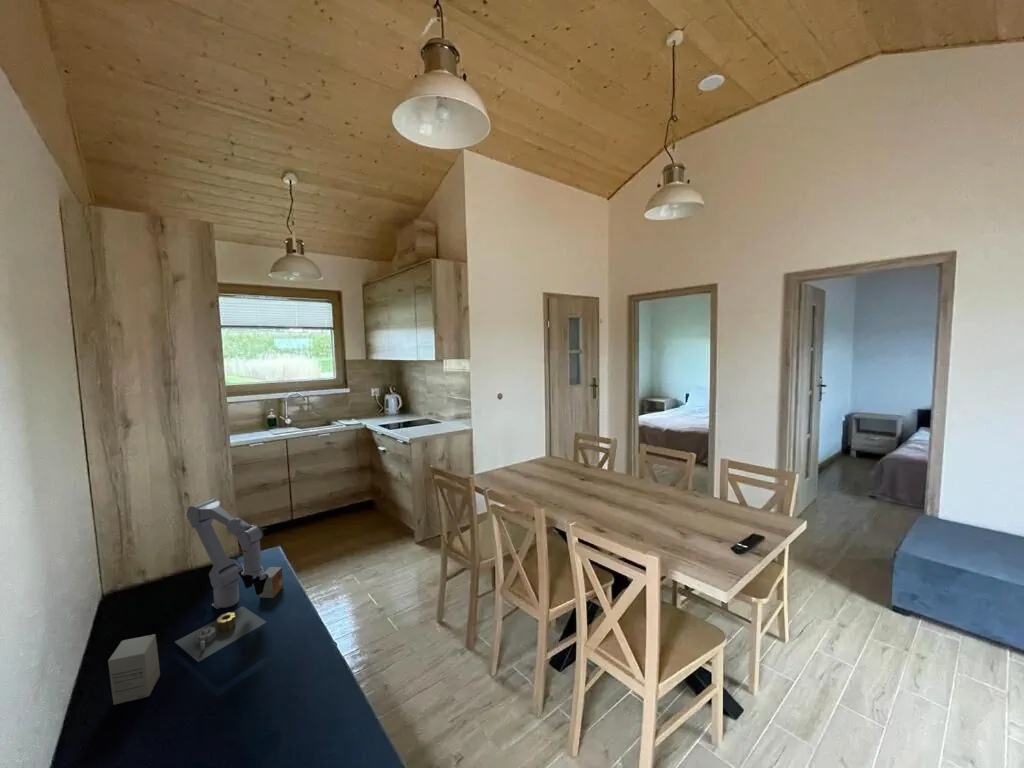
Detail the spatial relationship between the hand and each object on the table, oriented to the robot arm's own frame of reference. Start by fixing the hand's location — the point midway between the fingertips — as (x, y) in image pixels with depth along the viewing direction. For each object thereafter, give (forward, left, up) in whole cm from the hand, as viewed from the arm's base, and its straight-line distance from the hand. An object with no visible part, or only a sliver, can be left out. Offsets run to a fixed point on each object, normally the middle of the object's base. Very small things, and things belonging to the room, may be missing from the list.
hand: (254, 590), depth 168 cm
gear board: (+2, -13, -10) cm, 16 cm away
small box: (-6, +10, -10) cm, 15 cm away
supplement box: (+5, -39, -10) cm, 41 cm away
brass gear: (+1, -11, -8) cm, 14 cm away
